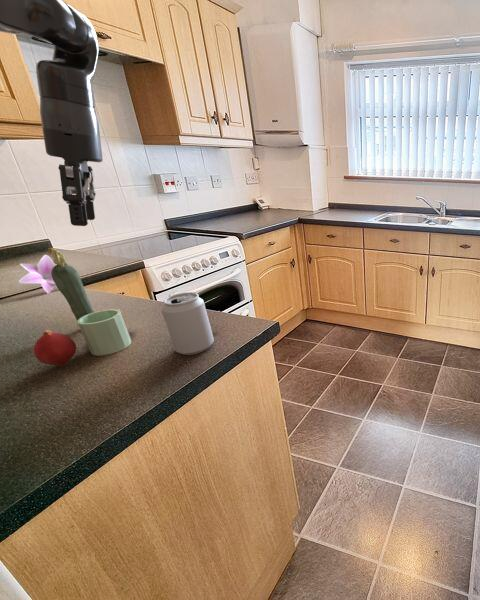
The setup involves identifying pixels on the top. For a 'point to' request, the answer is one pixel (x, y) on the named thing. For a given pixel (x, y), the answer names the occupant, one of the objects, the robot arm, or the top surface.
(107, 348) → the tube
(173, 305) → the can
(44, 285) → the lily
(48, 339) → the onion
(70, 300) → the vegetable
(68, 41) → the robot arm
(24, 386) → the top surface
